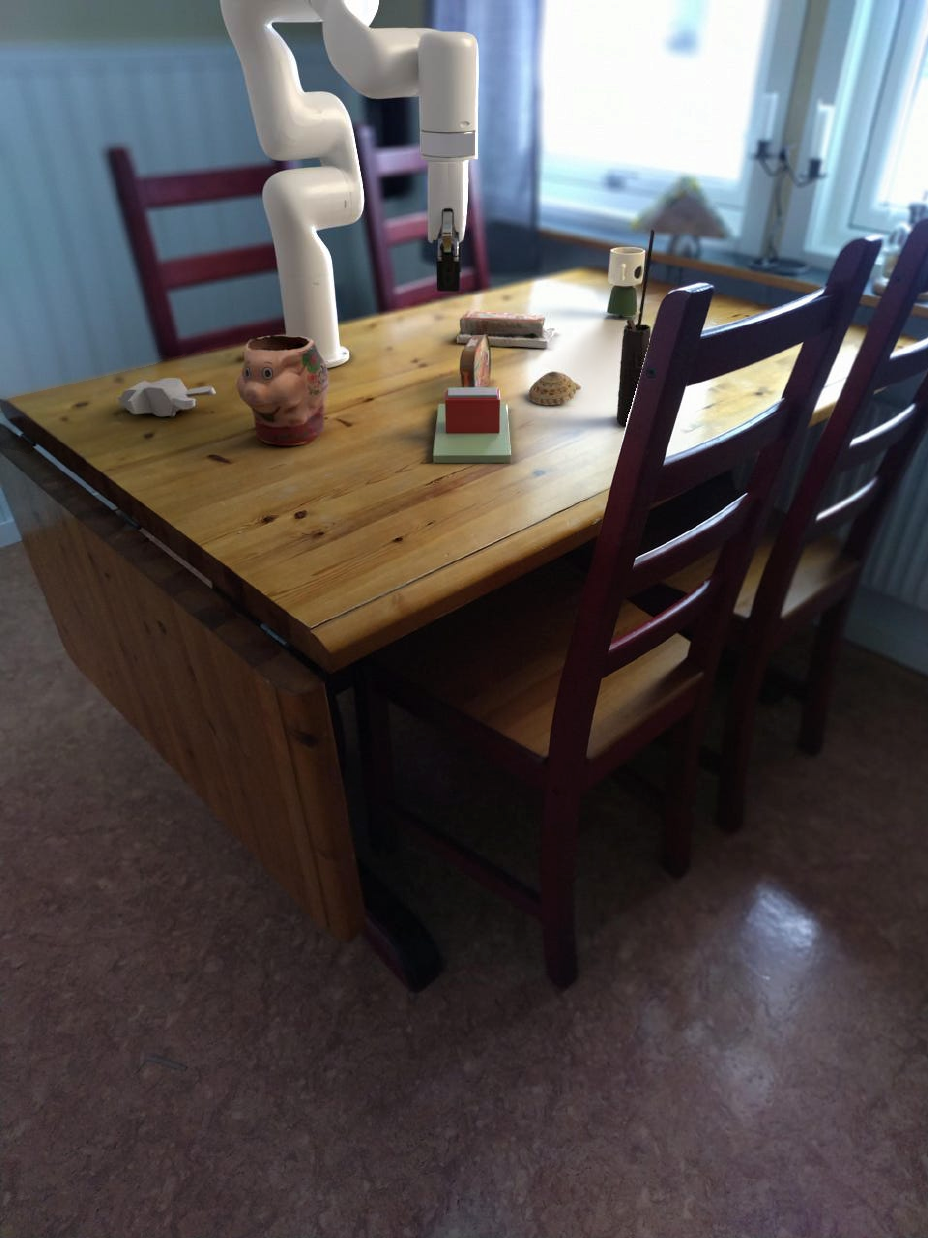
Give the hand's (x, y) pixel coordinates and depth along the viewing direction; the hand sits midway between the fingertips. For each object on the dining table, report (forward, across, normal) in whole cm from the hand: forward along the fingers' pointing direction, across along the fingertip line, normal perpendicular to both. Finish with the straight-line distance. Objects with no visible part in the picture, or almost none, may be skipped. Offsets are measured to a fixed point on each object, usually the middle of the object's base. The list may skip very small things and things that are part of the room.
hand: (449, 281), depth 121 cm
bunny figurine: (+22, -4, -46) cm, 51 cm away
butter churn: (+21, 0, +28) cm, 35 cm away
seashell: (+21, -10, +17) cm, 29 cm away
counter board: (+21, +6, +4) cm, 22 cm away
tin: (+21, -13, +4) cm, 25 cm away
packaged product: (+22, -42, +10) cm, 48 cm away
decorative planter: (+21, +4, -24) cm, 32 cm away
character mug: (+22, -58, +35) cm, 71 cm away
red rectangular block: (+20, +6, +4) cm, 21 cm away
